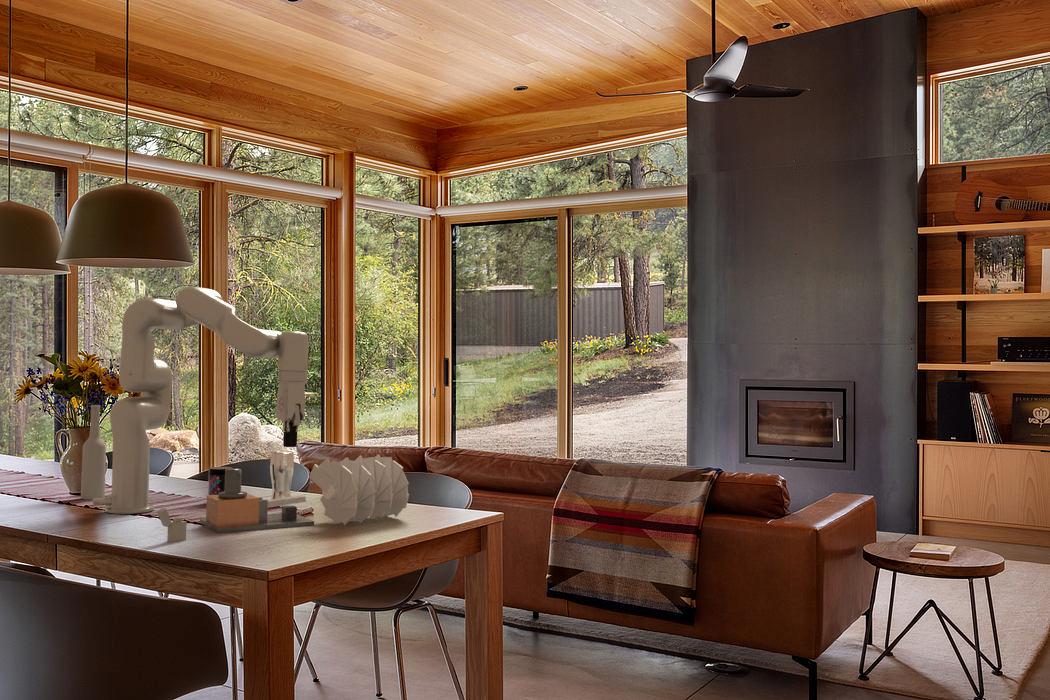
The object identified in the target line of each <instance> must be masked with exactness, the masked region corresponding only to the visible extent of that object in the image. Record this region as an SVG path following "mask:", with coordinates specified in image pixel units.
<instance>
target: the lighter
mask: <svg viewBox="0 0 1050 700" xmlns="http://www.w3.org/2000/svg"><path fill="white" fill-rule="evenodd" d="M156 512H157V515H158V517H159V520H160V521H161V525H162V526H163V527H166V528H167V542H168V543H175V542H182V541H187V524H188V523H187V522H188V521H185V520H183V518H182V517H173V518H172V520H171V517H170V515H169V513H168V510H167V508H164V507H161V508H159V509H158V510H157V511H156Z"/></svg>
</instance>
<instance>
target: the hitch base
mask: <svg viewBox="0 0 1050 700" xmlns="http://www.w3.org/2000/svg"><path fill="white" fill-rule="evenodd" d="M268 500H269V499H263V497H261V496H260V497H258V496H255V495H252V494H250V493H248V492H247V497H245V498H237V499H224V498H219V497H218V495H208V494H207V495H206V506H205V508H206V512H205V518H200V519H199V523H200V524H201V525H203V526H204V527H206V528H208V529H209V530H211V531H213V532H214V533H216V534H221V533H233V532H234V533H235V532H236V533H237V532H246V531H256V530H257V531H259V530H260V531H261V530H271V529H283V528H296V527H308V526H315V520H312V519H310V518H307V517H304V516H303V515H300V514H298V511H297V509H298V507H297V506H295V505H281V513H271V514H269V513H268V508H269V507H268Z"/></svg>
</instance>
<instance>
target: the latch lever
mask: <svg viewBox="0 0 1050 700" xmlns="http://www.w3.org/2000/svg"><path fill="white" fill-rule="evenodd" d="M306 498H307V497H306V496H305V495H296V496H291V497H287V498H280V499H273V500H271V499H267V500H268V508H272V507H279V506H287V505H292V504H300V503H306Z"/></svg>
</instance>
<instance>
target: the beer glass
mask: <svg viewBox="0 0 1050 700" xmlns="http://www.w3.org/2000/svg"><path fill="white" fill-rule="evenodd" d="M294 458H295V457H294V451H290V450H289V451H288V450H277V451H276V450H273V451H270V461H269V462H270V463H269V469H270V470H269V471H270V472H269V473H270V479H271V486H272V491H271V498H270V500H273V499H280V498H287V497H292V495H291V486H292V480H293V474H294V469H295V468H294V467H295V466H294V465H295V463H294V462H295V459H294Z"/></svg>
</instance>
